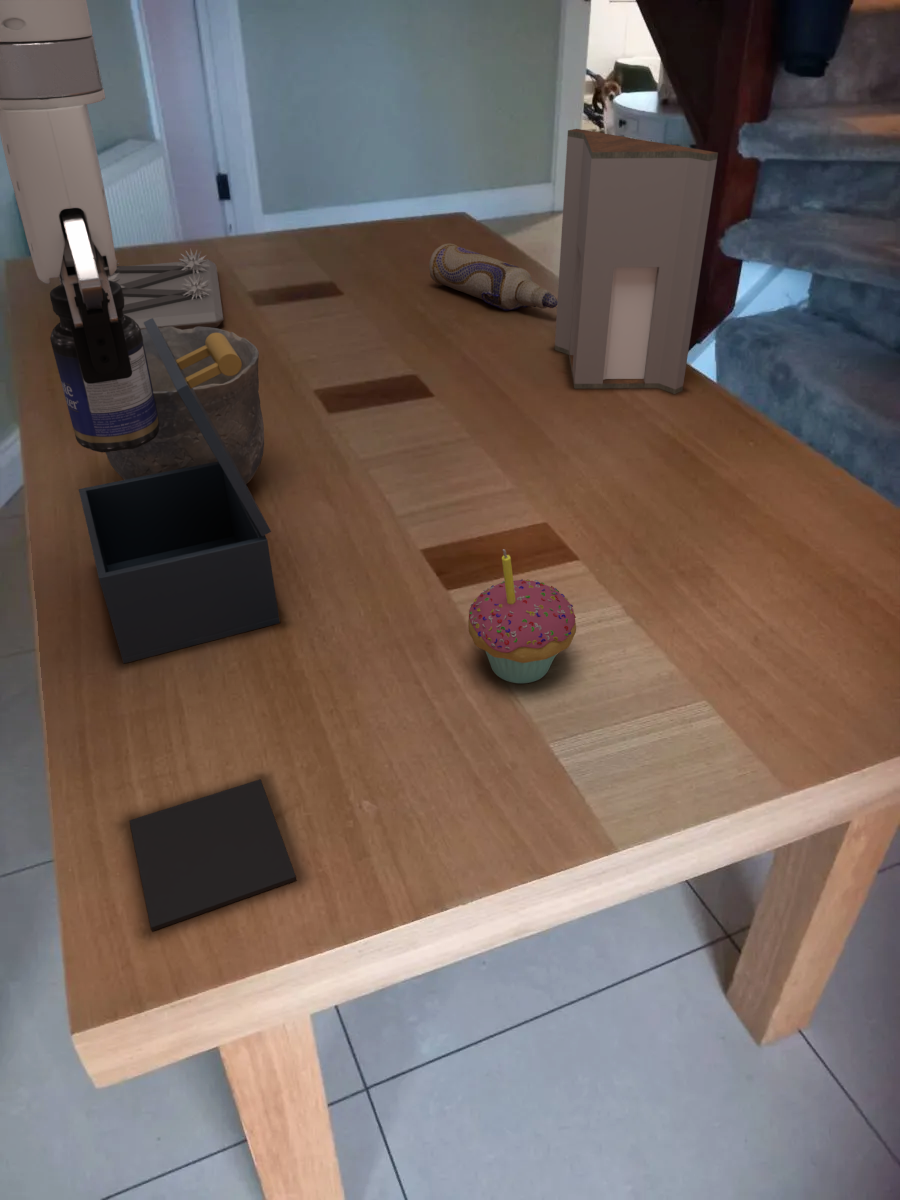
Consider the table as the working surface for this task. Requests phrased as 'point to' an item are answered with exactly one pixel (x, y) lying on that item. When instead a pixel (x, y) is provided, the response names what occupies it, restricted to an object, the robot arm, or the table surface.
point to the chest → (178, 560)
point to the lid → (224, 364)
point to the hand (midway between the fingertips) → (101, 359)
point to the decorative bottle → (487, 279)
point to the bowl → (222, 399)
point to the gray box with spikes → (172, 293)
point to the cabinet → (630, 259)
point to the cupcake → (521, 626)
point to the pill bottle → (105, 386)
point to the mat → (209, 853)
